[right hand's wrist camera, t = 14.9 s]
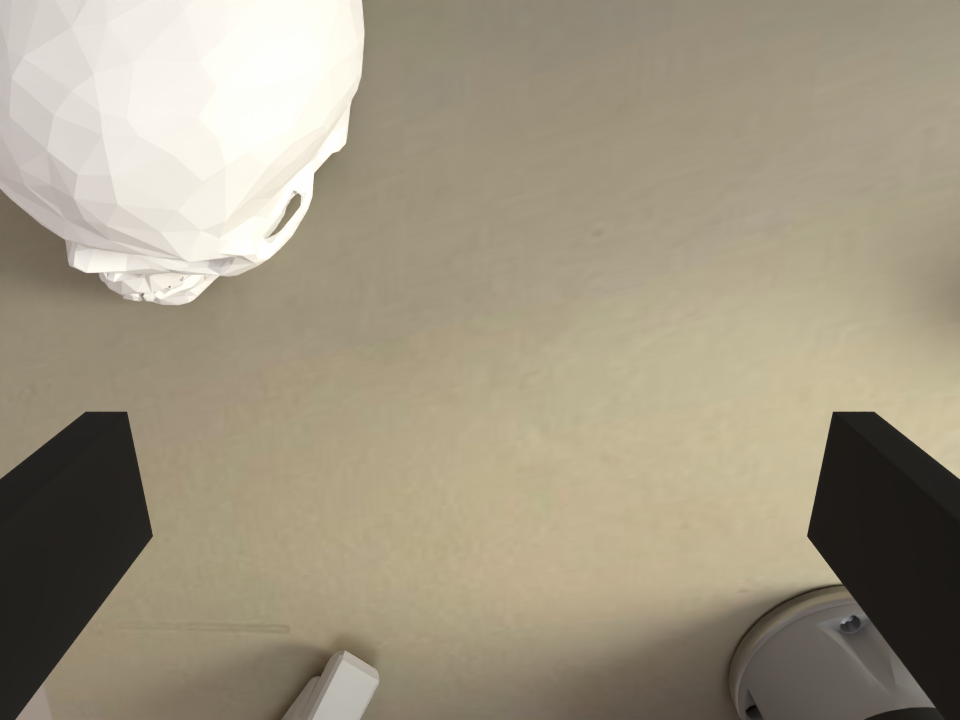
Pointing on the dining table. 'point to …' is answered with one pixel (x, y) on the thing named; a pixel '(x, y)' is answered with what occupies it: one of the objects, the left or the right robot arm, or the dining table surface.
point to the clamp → (337, 691)
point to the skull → (172, 128)
